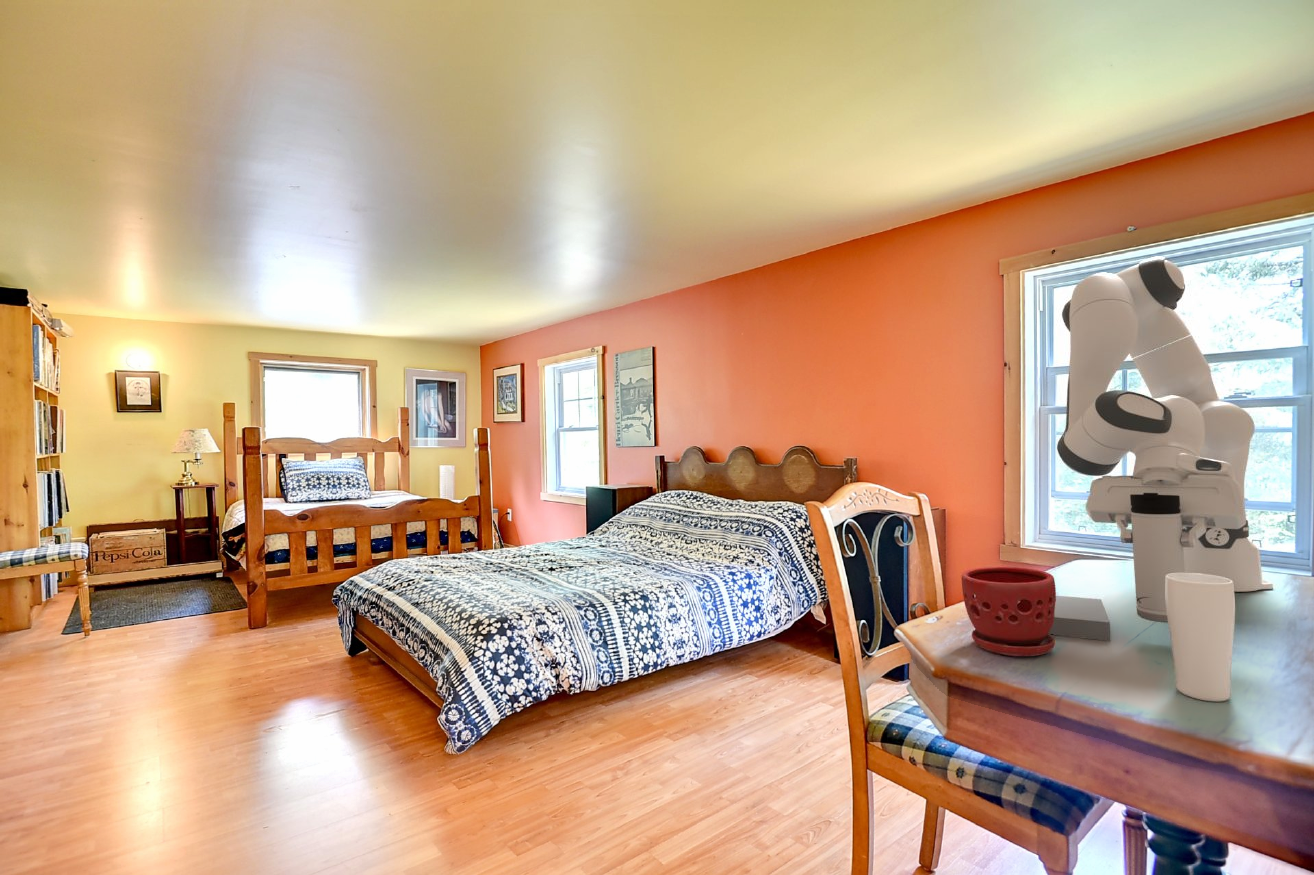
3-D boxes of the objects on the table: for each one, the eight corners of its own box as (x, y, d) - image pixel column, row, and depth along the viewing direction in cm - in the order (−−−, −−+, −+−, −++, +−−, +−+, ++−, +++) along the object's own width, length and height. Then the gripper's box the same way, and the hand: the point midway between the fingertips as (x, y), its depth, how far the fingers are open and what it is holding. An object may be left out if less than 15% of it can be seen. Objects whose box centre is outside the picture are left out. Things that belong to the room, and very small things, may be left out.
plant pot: (1013, 632, 109) (1010, 562, 109) (1079, 657, 96) (1076, 578, 96) (946, 639, 106) (943, 568, 106) (1005, 666, 93) (1002, 585, 93)
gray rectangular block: (1014, 607, 123) (1013, 592, 123) (1101, 615, 116) (1101, 599, 116) (1011, 630, 110) (1011, 613, 110) (1110, 641, 102) (1109, 622, 102)
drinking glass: (1245, 696, 80) (1240, 577, 80) (1230, 710, 76) (1225, 586, 76) (1178, 680, 86) (1174, 570, 86) (1161, 693, 82) (1156, 578, 82)
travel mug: (1132, 619, 100) (1124, 492, 100) (1141, 610, 104) (1134, 489, 104) (1183, 626, 95) (1175, 493, 95) (1190, 616, 100) (1182, 489, 100)
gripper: (1088, 464, 112) (1074, 526, 106) (1244, 463, 97) (1239, 535, 90) (1097, 487, 115) (1084, 549, 109) (1250, 489, 100) (1245, 561, 93)
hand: (1156, 543), depth 99 cm, fingers closed on travel mug, 6 cm apart
